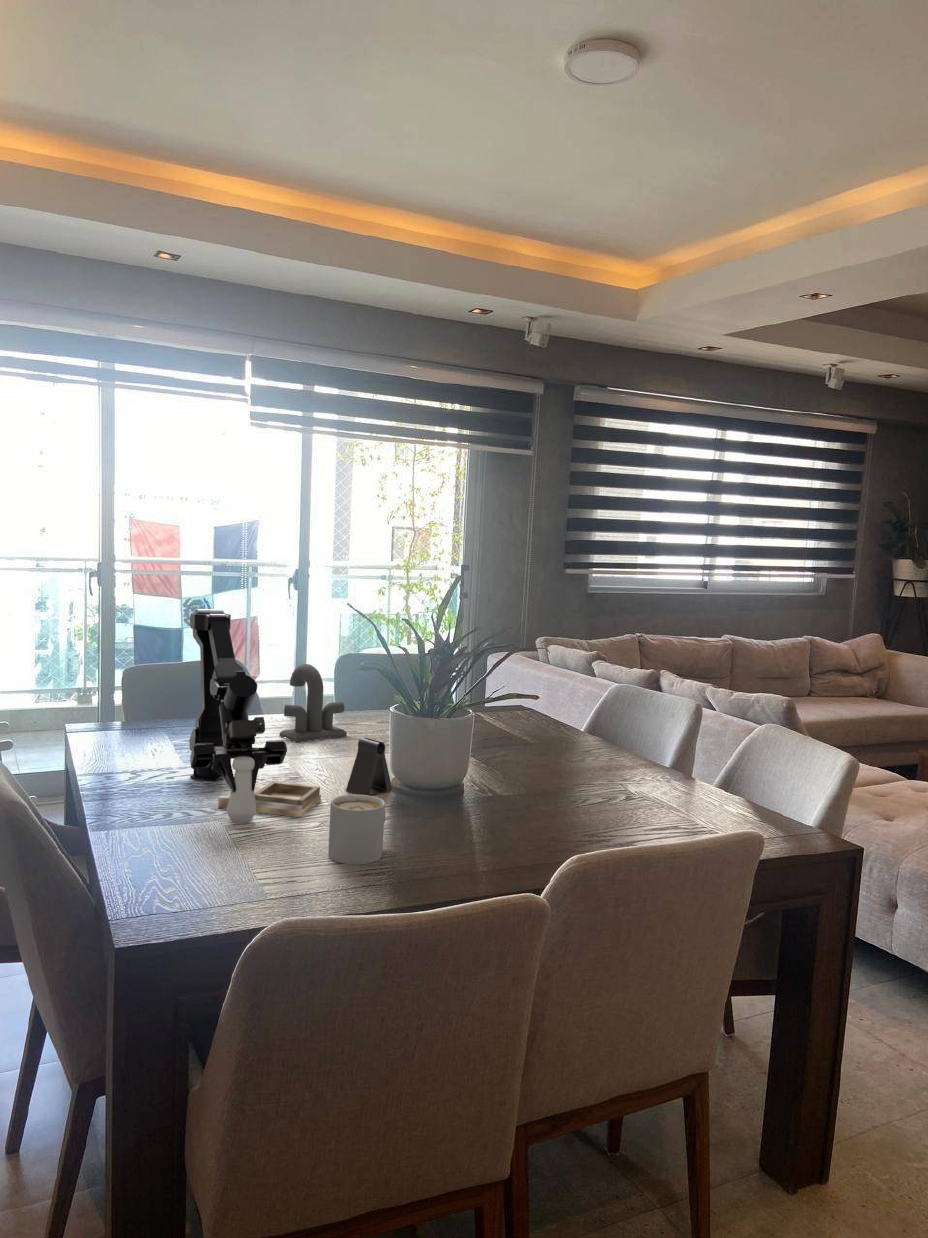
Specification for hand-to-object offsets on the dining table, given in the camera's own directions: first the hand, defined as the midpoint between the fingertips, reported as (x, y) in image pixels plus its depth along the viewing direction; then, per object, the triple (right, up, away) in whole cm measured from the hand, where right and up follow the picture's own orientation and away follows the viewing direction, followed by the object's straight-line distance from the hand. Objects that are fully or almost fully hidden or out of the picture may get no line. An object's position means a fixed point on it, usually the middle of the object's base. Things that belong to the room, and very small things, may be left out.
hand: (243, 791), depth 186 cm
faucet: (-1, +1, +82) cm, 82 cm away
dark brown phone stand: (+22, -6, +28) cm, 36 cm away
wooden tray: (+2, -5, +14) cm, 16 cm away
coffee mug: (+25, -10, -12) cm, 29 cm away
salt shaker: (-1, -7, +2) cm, 7 cm away
